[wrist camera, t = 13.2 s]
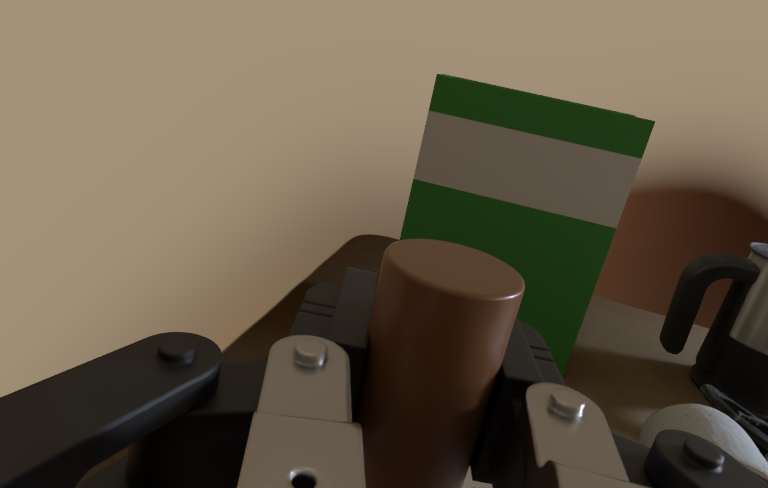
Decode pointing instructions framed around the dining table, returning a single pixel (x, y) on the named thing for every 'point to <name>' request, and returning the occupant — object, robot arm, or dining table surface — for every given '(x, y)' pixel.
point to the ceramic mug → (706, 432)
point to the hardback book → (527, 191)
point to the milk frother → (728, 336)
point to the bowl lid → (432, 361)
